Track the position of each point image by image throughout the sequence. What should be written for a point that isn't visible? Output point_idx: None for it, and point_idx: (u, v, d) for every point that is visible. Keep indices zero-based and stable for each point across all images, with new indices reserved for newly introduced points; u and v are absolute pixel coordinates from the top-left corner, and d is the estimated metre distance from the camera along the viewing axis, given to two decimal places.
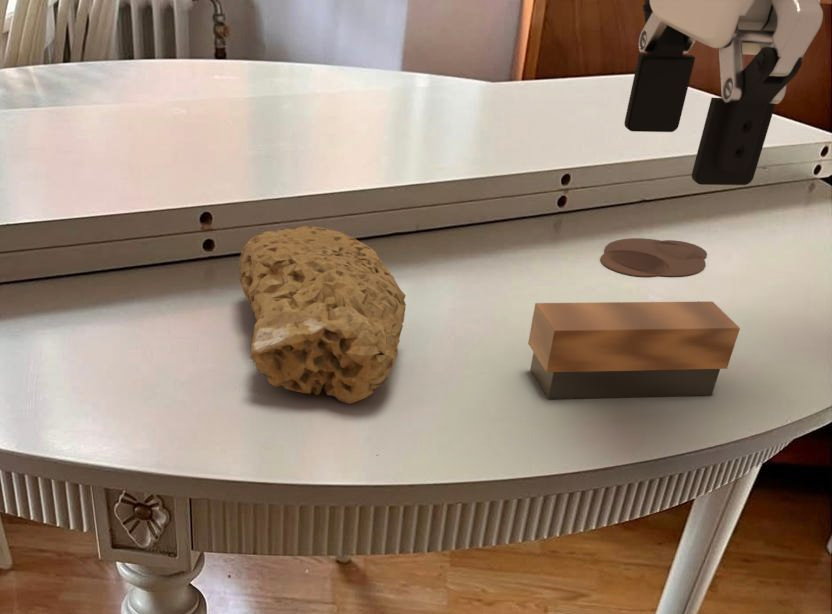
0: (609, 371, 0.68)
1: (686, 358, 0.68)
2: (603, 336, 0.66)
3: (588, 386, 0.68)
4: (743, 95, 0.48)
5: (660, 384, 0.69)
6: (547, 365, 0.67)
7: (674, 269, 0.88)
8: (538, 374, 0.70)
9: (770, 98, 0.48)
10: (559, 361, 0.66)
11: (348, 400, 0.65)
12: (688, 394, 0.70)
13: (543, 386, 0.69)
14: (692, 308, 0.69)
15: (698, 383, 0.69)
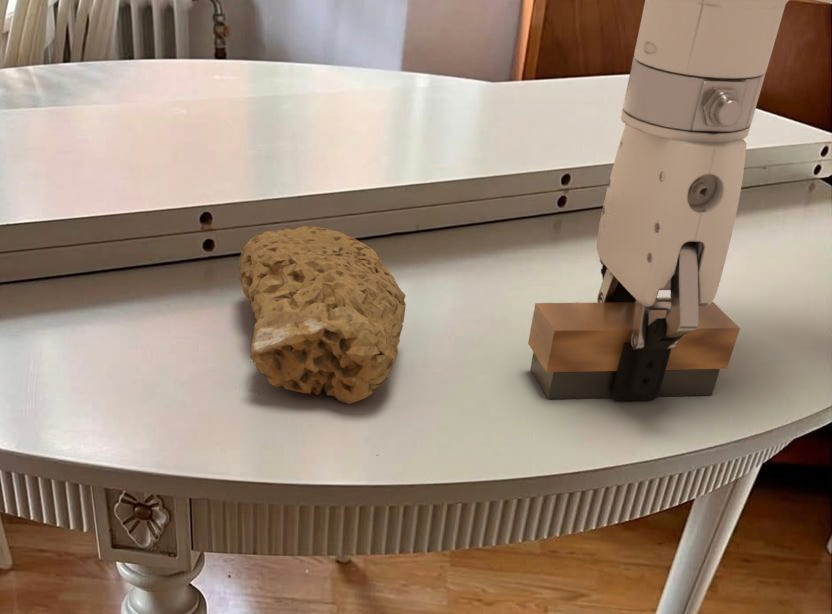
0: (609, 371, 0.68)
1: (686, 358, 0.68)
2: (603, 336, 0.66)
3: (588, 386, 0.68)
4: (645, 346, 0.65)
5: None
6: (547, 365, 0.67)
7: None
8: (538, 374, 0.70)
9: (664, 349, 0.65)
10: (559, 361, 0.66)
11: (348, 400, 0.65)
12: (688, 394, 0.70)
13: (543, 386, 0.69)
14: None
15: (698, 383, 0.69)
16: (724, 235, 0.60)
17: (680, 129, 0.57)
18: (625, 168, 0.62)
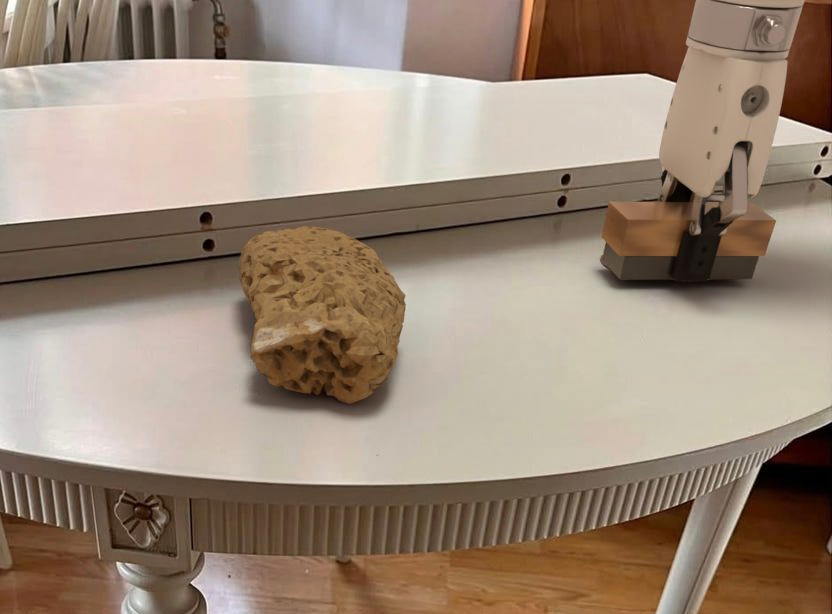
0: (669, 256, 0.83)
1: (732, 246, 0.83)
2: (666, 225, 0.81)
3: (652, 269, 0.83)
4: (701, 232, 0.80)
5: None
6: (620, 250, 0.82)
7: None
8: (610, 261, 0.85)
9: (716, 235, 0.81)
10: (630, 246, 0.82)
11: (348, 400, 0.65)
12: (732, 278, 0.85)
13: (614, 270, 0.84)
14: None
15: (741, 268, 0.85)
16: (768, 136, 0.75)
17: (736, 49, 0.72)
18: (687, 86, 0.78)
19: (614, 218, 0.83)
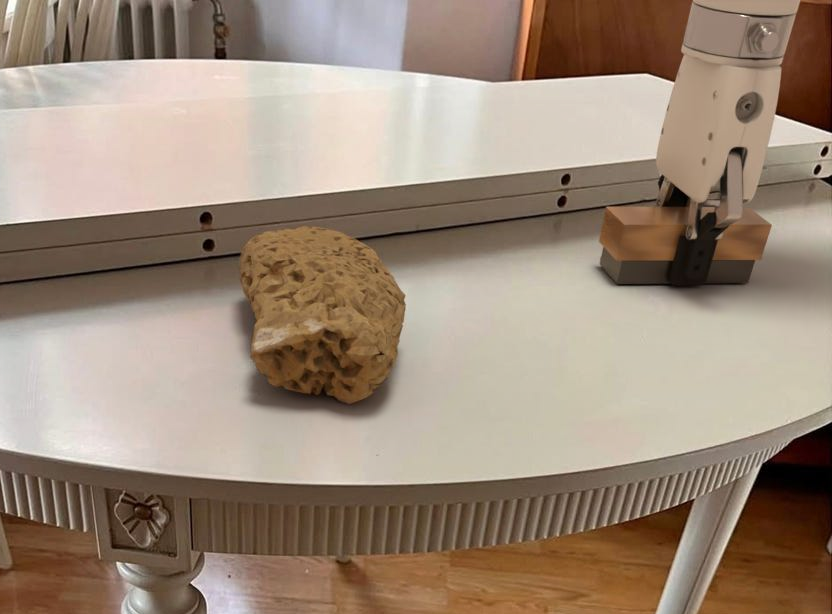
0: (666, 260, 0.84)
1: (728, 250, 0.84)
2: (663, 230, 0.82)
3: (649, 273, 0.84)
4: (698, 237, 0.81)
5: None
6: (617, 254, 0.83)
7: None
8: (608, 265, 0.86)
9: (712, 240, 0.82)
10: (627, 251, 0.83)
11: (348, 400, 0.65)
12: (729, 281, 0.86)
13: (612, 274, 0.85)
14: None
15: (737, 272, 0.86)
16: (763, 142, 0.76)
17: (730, 56, 0.73)
18: (683, 92, 0.79)
19: (611, 223, 0.84)
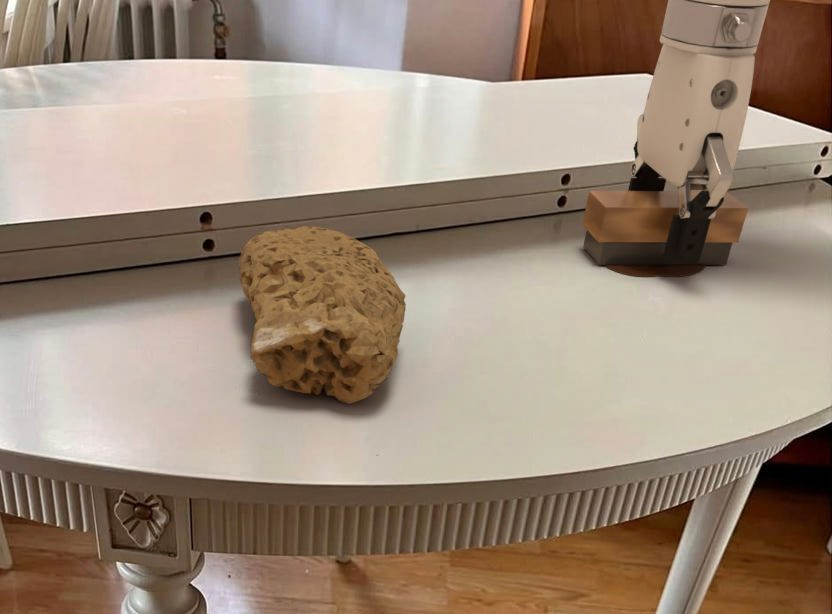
0: (646, 242, 0.87)
1: None
2: (643, 213, 0.85)
3: (630, 255, 0.88)
4: (691, 215, 0.82)
5: None
6: (599, 236, 0.86)
7: (674, 269, 0.88)
8: (591, 247, 0.89)
9: (707, 216, 0.82)
10: (608, 233, 0.86)
11: (348, 400, 0.65)
12: (707, 263, 0.89)
13: (594, 256, 0.89)
14: None
15: (715, 254, 0.89)
16: (738, 128, 0.79)
17: (705, 45, 0.76)
18: (662, 81, 0.82)
19: (593, 206, 0.87)
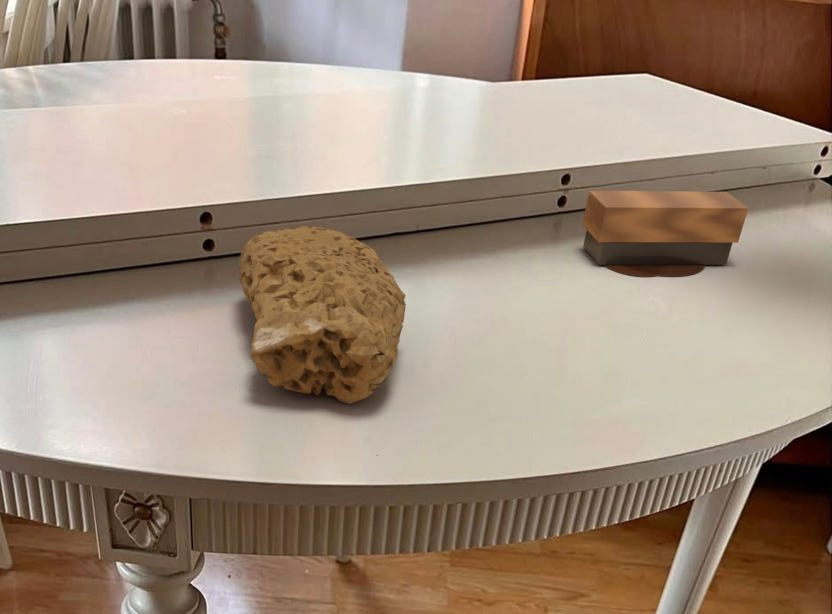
0: (646, 242, 0.87)
1: (706, 233, 0.87)
2: (643, 213, 0.85)
3: (630, 255, 0.88)
4: None
5: (686, 254, 0.88)
6: (599, 236, 0.86)
7: (674, 269, 0.88)
8: (591, 247, 0.89)
9: None
10: (608, 233, 0.86)
11: (348, 400, 0.65)
12: (707, 263, 0.89)
13: (594, 256, 0.89)
14: (711, 195, 0.89)
15: (715, 254, 0.89)
16: None
17: None
18: None
19: (593, 206, 0.87)
